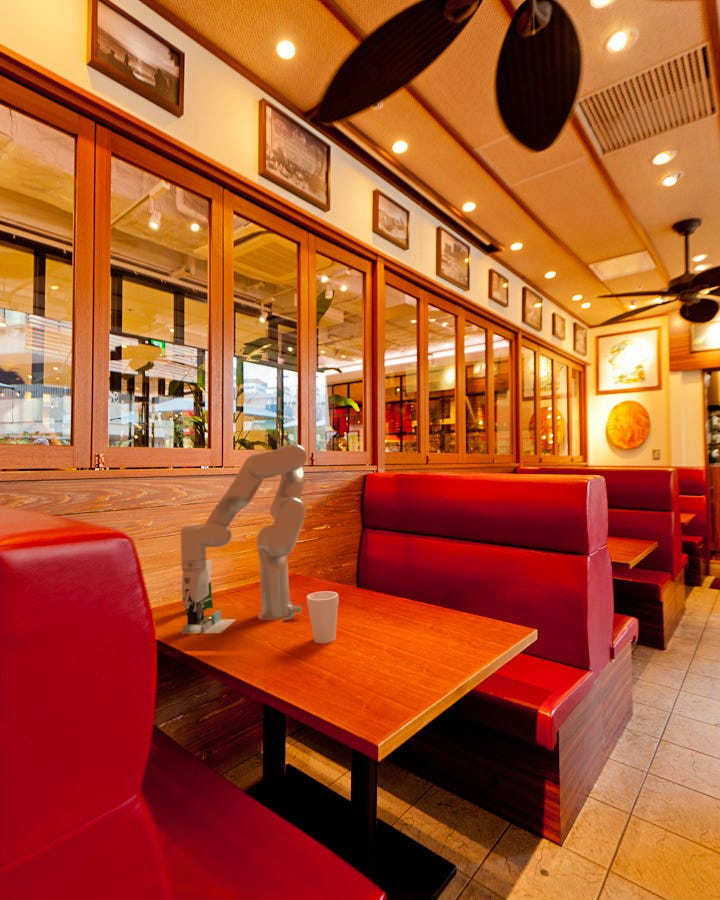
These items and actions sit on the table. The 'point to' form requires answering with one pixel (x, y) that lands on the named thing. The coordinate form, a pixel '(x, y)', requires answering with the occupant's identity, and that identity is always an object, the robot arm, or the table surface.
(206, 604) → the milk carton
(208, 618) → the plunger
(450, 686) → the table surface
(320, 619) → the foam cup
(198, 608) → the cell
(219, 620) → the board
